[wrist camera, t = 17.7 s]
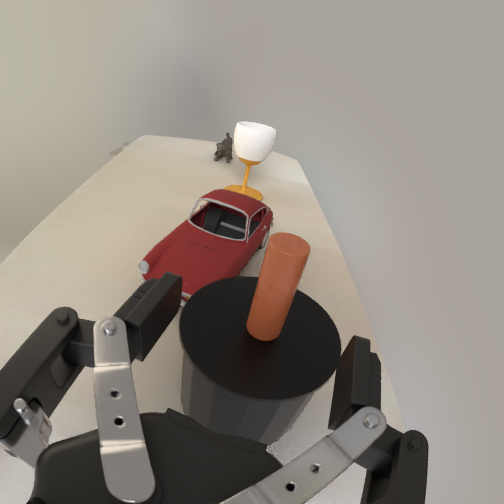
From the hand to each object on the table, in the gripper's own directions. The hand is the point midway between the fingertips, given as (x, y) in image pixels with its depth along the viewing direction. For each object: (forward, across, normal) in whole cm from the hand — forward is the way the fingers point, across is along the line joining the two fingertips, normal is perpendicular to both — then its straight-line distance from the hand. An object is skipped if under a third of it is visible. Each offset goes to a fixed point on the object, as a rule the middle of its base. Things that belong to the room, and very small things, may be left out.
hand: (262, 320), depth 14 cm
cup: (+56, +15, +18) cm, 60 cm away
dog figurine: (+76, +28, +18) cm, 84 cm away
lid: (+7, 0, +8) cm, 10 cm away
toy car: (+28, +11, +18) cm, 35 cm away
